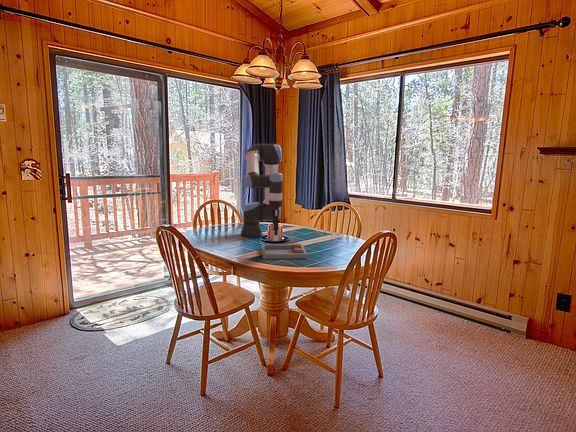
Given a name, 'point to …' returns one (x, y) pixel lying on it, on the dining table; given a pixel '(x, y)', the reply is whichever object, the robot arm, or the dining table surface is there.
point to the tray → (281, 252)
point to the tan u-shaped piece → (272, 232)
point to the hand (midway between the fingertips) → (275, 239)
